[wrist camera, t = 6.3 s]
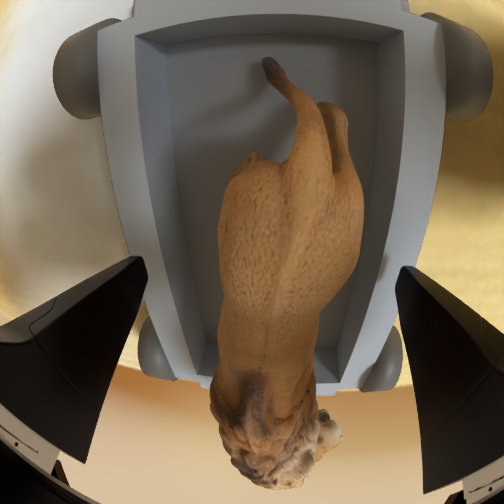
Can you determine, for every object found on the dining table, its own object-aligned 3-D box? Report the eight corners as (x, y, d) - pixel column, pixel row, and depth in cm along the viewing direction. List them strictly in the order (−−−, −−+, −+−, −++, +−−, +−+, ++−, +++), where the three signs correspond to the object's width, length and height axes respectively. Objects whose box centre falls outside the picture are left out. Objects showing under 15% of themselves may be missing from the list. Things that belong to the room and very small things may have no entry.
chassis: (431, 7, 6) (479, -13, 2) (367, 364, 17) (375, 411, 14) (113, 11, 7) (56, -3, 4) (175, 354, 19) (159, 398, 15)
